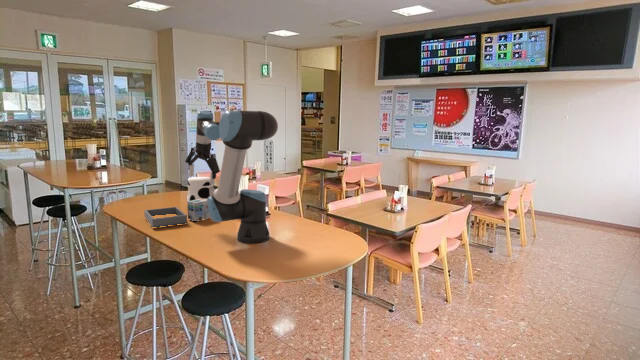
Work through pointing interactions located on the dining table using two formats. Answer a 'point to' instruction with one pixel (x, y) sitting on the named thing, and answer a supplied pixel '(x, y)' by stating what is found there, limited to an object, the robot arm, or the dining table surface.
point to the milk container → (199, 188)
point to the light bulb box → (198, 209)
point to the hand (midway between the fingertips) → (201, 180)
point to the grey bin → (165, 221)
